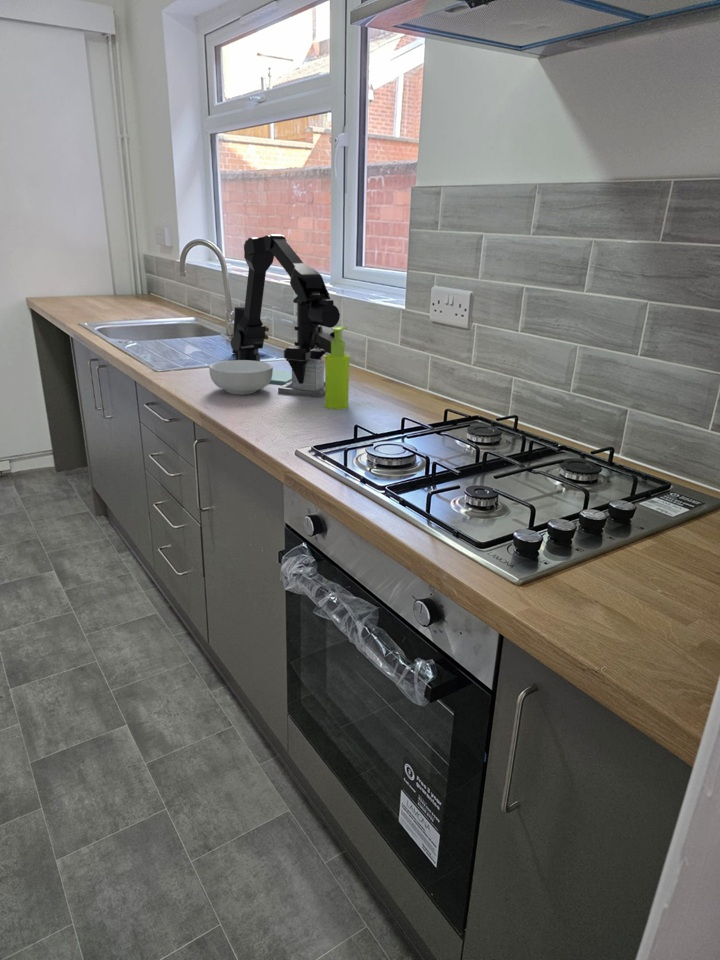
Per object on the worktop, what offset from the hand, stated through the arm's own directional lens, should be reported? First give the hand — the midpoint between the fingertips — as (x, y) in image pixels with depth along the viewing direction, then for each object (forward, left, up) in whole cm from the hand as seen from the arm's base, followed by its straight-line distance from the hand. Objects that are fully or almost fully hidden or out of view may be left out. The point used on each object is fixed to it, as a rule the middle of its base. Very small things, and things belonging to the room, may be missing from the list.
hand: (307, 379), depth 178 cm
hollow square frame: (0, 0, -3) cm, 3 cm away
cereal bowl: (-16, -8, -3) cm, 18 cm away
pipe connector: (-38, +38, -3) cm, 54 cm away
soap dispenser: (+13, -12, -3) cm, 18 cm away
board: (-14, +9, -3) cm, 17 cm away
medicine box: (0, 0, -3) cm, 3 cm away
